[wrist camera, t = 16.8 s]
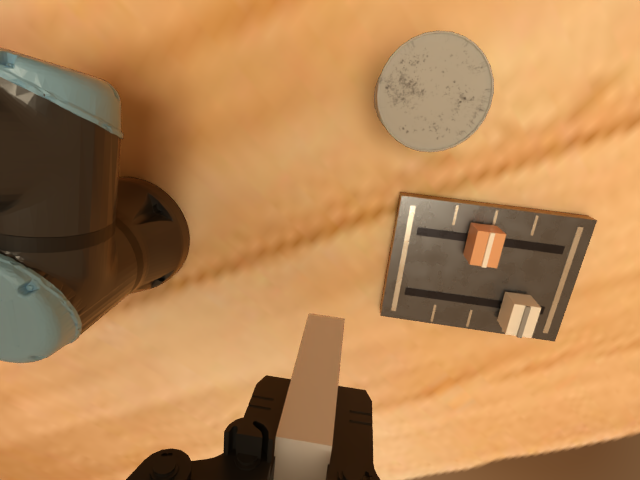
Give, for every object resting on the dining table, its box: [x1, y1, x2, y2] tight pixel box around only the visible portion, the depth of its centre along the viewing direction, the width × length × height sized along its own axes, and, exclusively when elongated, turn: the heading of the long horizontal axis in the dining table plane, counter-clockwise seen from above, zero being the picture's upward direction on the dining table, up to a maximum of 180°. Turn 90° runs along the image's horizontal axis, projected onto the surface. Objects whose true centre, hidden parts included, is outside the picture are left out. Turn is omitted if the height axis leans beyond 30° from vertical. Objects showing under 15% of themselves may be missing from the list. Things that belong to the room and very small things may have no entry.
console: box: [380, 192, 597, 341], centre depth 50 cm, size 22×16×2 cm
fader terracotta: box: [463, 223, 506, 268], centre depth 46 cm, size 3×4×4 cm
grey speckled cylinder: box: [374, 31, 494, 152], centre depth 39 cm, size 10×10×12 cm
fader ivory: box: [497, 292, 541, 338], centre depth 48 cm, size 3×4×4 cm
